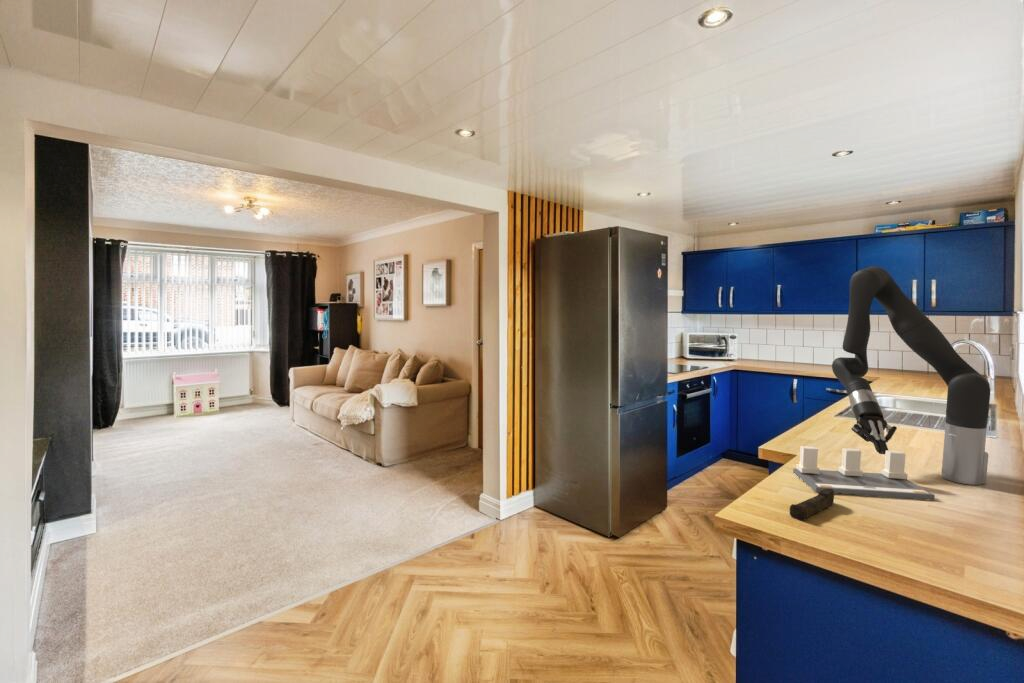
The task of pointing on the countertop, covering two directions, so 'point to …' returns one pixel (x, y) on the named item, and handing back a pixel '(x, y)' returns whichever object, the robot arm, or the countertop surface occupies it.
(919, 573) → the countertop surface
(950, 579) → the countertop surface
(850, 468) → the middle tab
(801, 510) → the hand tool
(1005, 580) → the countertop surface
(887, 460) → the near tab
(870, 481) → the switch bank
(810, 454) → the far tab
